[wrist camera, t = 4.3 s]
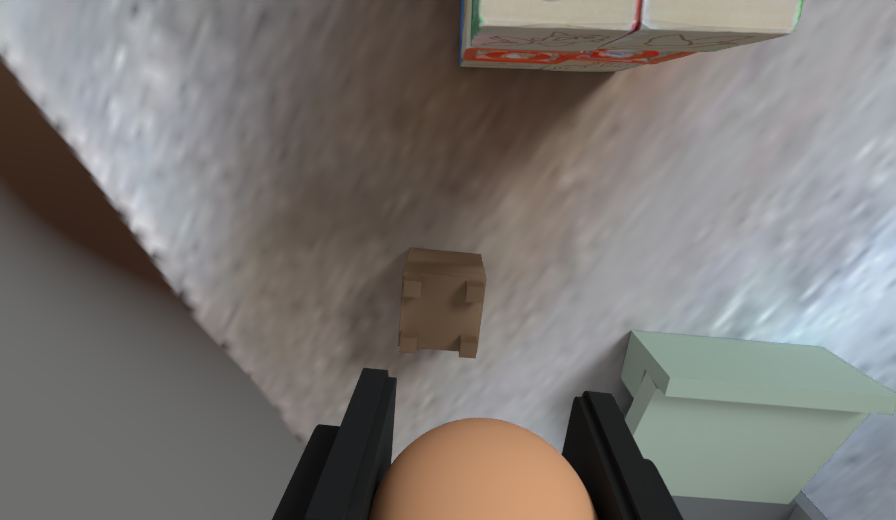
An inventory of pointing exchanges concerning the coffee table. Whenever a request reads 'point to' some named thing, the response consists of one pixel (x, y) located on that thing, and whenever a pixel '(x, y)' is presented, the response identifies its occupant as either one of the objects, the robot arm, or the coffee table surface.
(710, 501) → the lane
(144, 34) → the coffee table surface
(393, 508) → the ball
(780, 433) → the ramp
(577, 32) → the stack of blocks
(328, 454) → the robot arm
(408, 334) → the brown wooden block
